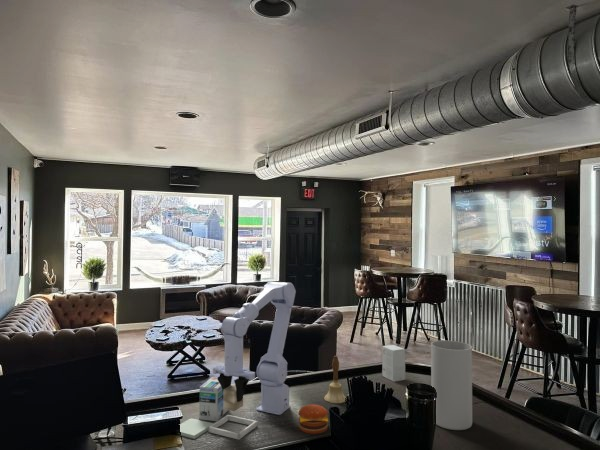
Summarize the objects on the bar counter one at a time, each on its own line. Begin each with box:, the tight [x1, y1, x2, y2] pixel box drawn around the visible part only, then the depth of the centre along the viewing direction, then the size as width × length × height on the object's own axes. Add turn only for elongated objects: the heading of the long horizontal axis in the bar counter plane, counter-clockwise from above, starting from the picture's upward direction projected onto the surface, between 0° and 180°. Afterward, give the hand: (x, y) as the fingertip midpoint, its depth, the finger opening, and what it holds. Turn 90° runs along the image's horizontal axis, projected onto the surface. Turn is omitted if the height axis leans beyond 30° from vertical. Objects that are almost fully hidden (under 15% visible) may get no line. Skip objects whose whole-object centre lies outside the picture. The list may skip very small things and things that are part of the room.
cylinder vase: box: [430, 339, 473, 431], centre depth 138 cm, size 12×12×25 cm
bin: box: [207, 414, 258, 440], centre depth 132 cm, size 11×10×2 cm
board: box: [179, 418, 214, 440], centre depth 132 cm, size 9×9×1 cm
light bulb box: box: [198, 376, 229, 422], centre depth 143 cm, size 11×7×11 cm, turn 168°
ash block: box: [223, 384, 244, 412], centre depth 132 cm, size 4×5×6 cm
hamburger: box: [298, 404, 329, 435], centre depth 134 cm, size 9×10×7 cm
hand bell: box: [324, 355, 347, 404], centre depth 157 cm, size 8×8×16 cm
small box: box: [381, 344, 406, 383], centre depth 181 cm, size 8×6×13 cm
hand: (233, 399), depth 133 cm, fingers closed on ash block, 4 cm apart
